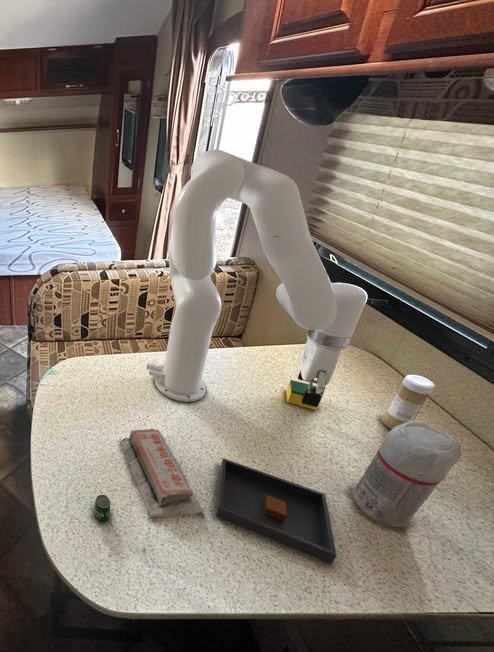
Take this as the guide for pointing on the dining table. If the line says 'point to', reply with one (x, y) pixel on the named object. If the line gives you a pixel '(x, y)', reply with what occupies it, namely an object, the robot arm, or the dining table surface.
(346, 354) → the dining table surface
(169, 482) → the packaged product
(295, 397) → the sponge
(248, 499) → the pan
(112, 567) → the dining table surface
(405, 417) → the sprinkles bottle
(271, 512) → the brown square tile
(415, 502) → the grey plastic tub
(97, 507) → the beer can
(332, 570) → the dining table surface
